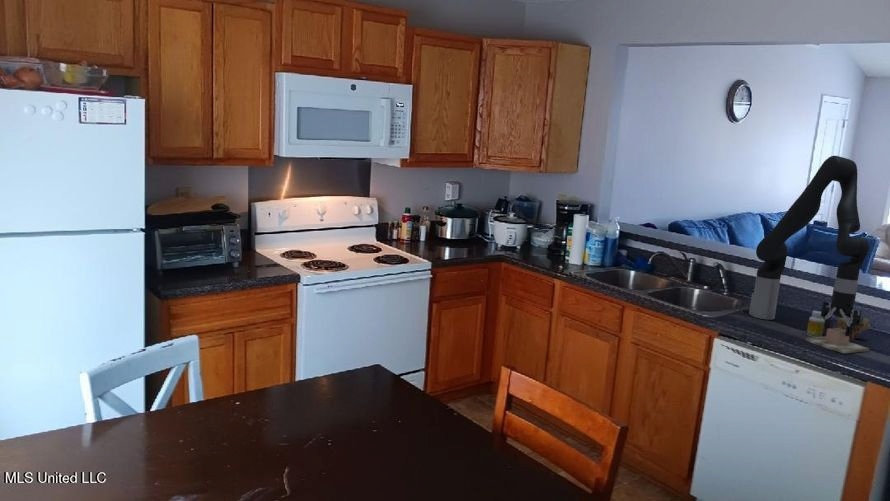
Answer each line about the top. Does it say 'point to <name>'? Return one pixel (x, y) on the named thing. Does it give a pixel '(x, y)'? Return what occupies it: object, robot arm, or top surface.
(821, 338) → the pale green flat slab
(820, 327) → the supplement bottle
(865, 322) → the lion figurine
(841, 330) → the terracotta block
